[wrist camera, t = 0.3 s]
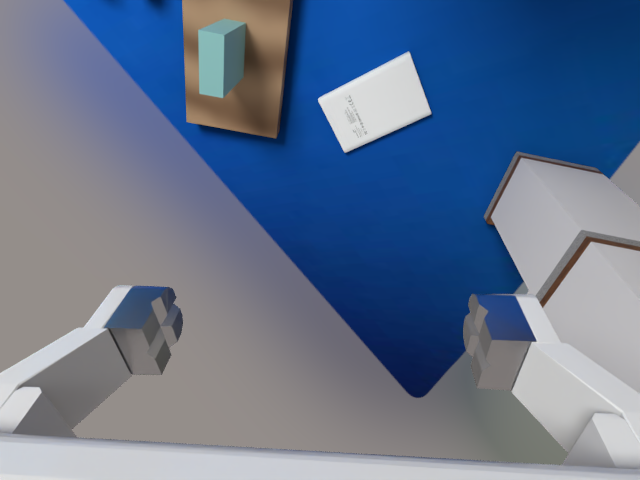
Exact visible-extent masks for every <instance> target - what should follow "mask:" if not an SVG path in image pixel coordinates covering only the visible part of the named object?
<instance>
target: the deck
mask: <svg viewBox="0 0 640 480" xmlns="http://www.w3.org/2000/svg"><path fill="white" fill-rule="evenodd" d="M182 5H183V32H184V59H185V87H186V114H187V122H190V123H195V124H201V125H206V126H212V127H217V128H222V129H228V130H233V131H239V132H244V133H249V134H255V135H260V136H266V137H271V138H277V136H278V133H279V129H280V119H281V110H282V100H283V91H284V81H285V71H286V62H287V52H288V43H289V33H290V24H291V14H292V5H293V0H182ZM222 19H229V20H234V21H239V22H244V23H246V33H245V54H244V76H243V78H242V79H241V80H240V81H239V82H238V84H237V85H236V86H235V87H234V88H233V89H232V90H231V91H230V92H229V93H228V94H227V95H226V96H225V97H224V98H219V97H214V96H209V95H203V94H199V42H198V30H199V29H202V28H204V27H206V26H208V25H211V24H213V23H215V22H218V21H220V20H222Z"/></svg>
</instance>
